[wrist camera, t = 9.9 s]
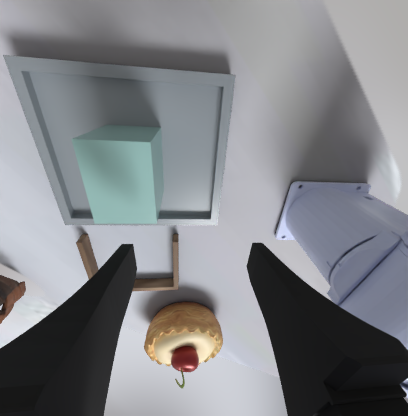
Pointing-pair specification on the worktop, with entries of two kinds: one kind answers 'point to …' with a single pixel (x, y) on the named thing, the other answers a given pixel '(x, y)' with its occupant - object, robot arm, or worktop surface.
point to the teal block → (122, 173)
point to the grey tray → (129, 116)
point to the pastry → (183, 336)
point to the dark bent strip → (139, 284)
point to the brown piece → (9, 295)
